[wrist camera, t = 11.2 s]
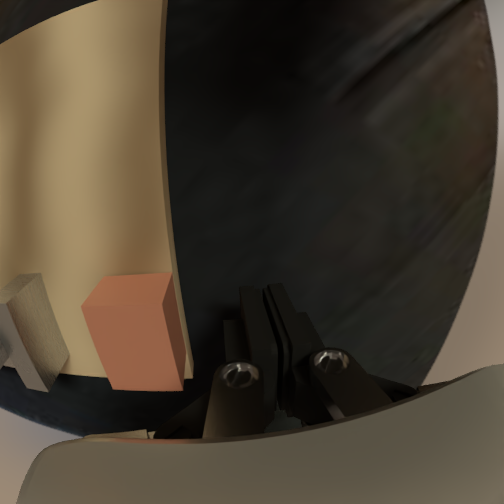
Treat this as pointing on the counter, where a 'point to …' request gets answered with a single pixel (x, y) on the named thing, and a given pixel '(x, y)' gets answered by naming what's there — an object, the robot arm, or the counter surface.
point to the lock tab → (137, 331)
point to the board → (86, 160)
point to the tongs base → (30, 332)
